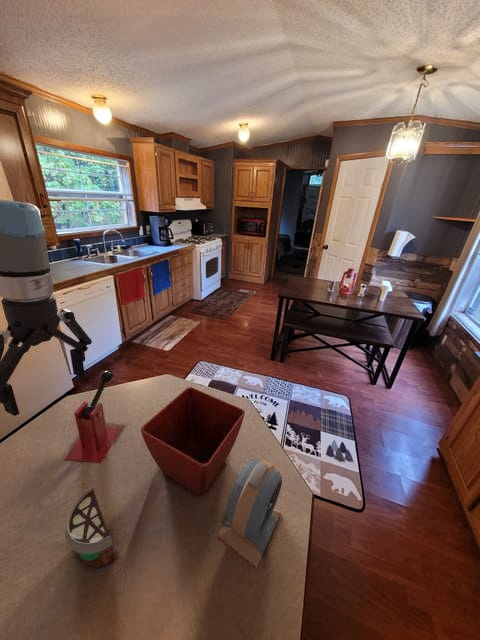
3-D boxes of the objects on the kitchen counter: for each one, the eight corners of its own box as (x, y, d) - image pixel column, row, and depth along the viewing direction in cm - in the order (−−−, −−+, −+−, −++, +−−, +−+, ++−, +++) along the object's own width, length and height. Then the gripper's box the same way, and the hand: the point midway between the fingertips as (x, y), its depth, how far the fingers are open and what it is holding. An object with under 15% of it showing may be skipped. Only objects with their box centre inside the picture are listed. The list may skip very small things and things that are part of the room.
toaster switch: (90, 427, 79) (83, 391, 73) (122, 430, 79) (117, 394, 73) (64, 462, 68) (53, 423, 62) (101, 465, 68) (94, 427, 62)
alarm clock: (254, 573, 50) (265, 519, 43) (214, 540, 54) (218, 486, 47) (282, 509, 61) (294, 458, 54) (247, 486, 66) (254, 436, 59)
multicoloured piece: (67, 533, 53) (57, 504, 49) (99, 513, 57) (92, 484, 53) (81, 596, 45) (71, 566, 41) (117, 567, 49) (111, 537, 45)
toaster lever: (105, 374, 78) (101, 368, 76) (116, 375, 78) (113, 369, 76) (83, 420, 69) (77, 415, 66) (96, 421, 69) (91, 416, 66)
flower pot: (143, 476, 66) (138, 428, 59) (189, 427, 82) (189, 385, 75) (203, 517, 58) (205, 467, 52) (241, 455, 74) (246, 410, 67)
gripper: (-57, 324, 33) (-13, 442, 41) (103, 285, 55) (111, 368, 63) (-88, 311, 35) (-40, 425, 43) (78, 279, 57) (88, 359, 65)
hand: (49, 391), depth 53 cm, fingers open, 13 cm apart
